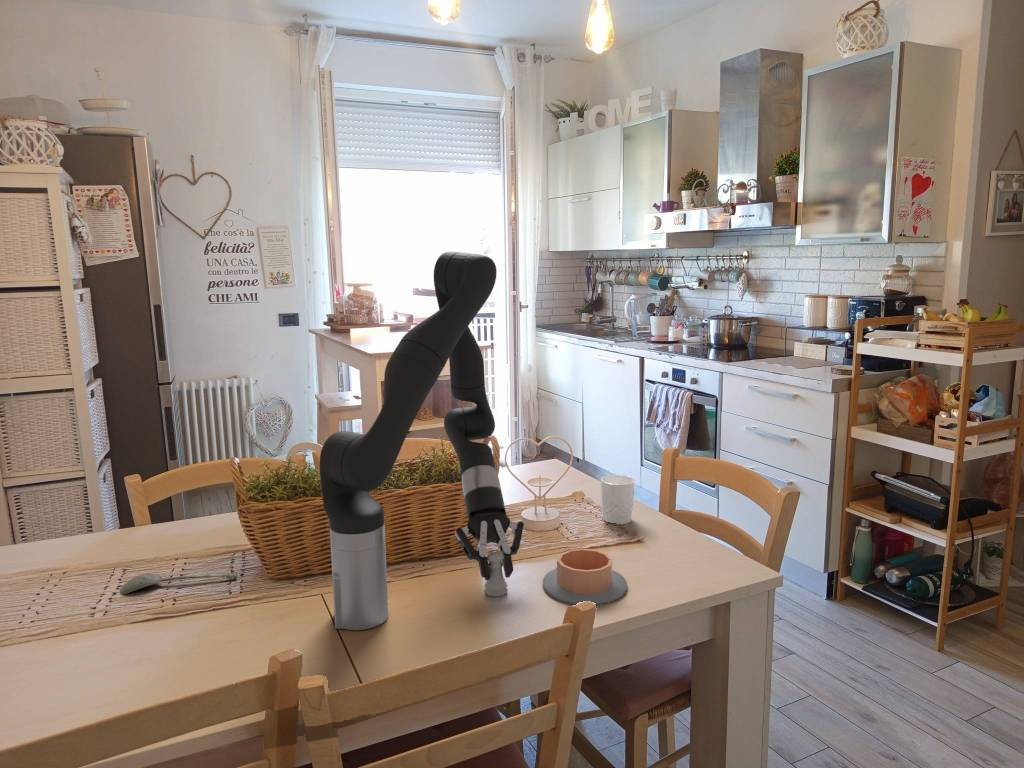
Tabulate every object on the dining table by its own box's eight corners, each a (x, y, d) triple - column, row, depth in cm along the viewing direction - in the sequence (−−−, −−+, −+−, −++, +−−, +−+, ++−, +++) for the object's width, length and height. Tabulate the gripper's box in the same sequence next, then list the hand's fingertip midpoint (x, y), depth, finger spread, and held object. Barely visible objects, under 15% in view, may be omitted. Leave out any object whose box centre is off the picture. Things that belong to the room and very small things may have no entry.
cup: (558, 610, 129) (558, 582, 128) (532, 573, 145) (532, 548, 144) (640, 599, 133) (641, 571, 132) (607, 564, 149) (607, 539, 148)
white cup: (633, 526, 169) (634, 485, 167) (599, 524, 171) (599, 483, 169) (634, 515, 177) (635, 475, 175) (601, 513, 178) (602, 473, 176)
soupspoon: (126, 586, 143) (114, 603, 137) (123, 570, 142) (111, 587, 136) (242, 573, 147) (236, 589, 140) (240, 558, 146) (233, 573, 140)
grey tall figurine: (499, 600, 134) (498, 559, 132) (479, 594, 136) (478, 554, 134) (512, 590, 137) (511, 550, 136) (492, 585, 140) (491, 545, 138)
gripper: (449, 488, 139) (463, 574, 129) (520, 481, 142) (539, 565, 133) (445, 505, 145) (458, 589, 135) (513, 498, 148) (530, 580, 139)
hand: (498, 576), depth 134 cm, fingers closed on grey tall figurine, 3 cm apart
